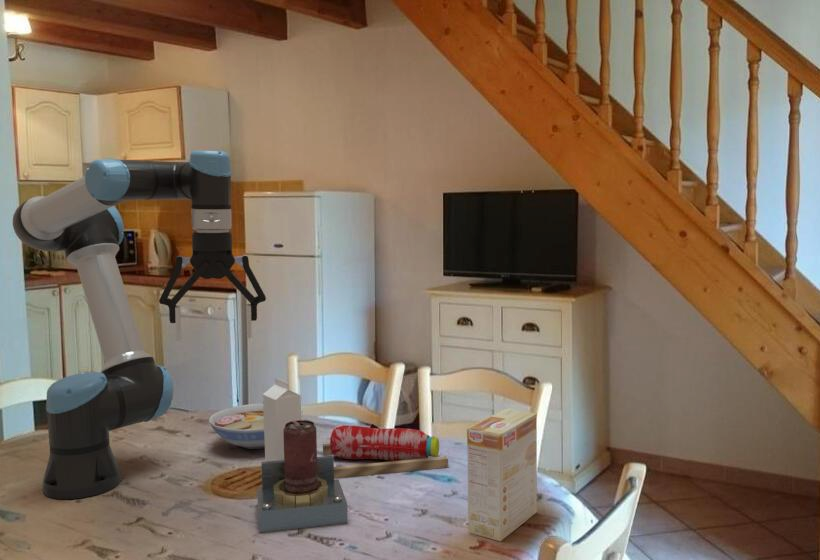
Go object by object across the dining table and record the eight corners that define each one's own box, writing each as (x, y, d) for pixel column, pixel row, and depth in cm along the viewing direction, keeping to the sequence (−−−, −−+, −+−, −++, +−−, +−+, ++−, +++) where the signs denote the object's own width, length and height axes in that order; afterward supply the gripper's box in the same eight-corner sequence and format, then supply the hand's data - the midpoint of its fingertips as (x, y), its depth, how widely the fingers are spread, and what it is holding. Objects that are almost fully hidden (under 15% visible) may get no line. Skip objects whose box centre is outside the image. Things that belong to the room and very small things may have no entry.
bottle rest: (331, 478, 162) (331, 469, 161) (322, 452, 179) (322, 444, 178) (448, 467, 167) (448, 458, 167) (428, 443, 184) (428, 435, 184)
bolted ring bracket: (259, 532, 136) (257, 484, 135) (257, 506, 147) (256, 462, 146) (347, 523, 139) (346, 476, 138) (338, 498, 151) (337, 455, 150)
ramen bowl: (226, 429, 198) (224, 399, 197) (312, 429, 197) (311, 398, 196) (195, 462, 173) (193, 427, 172) (293, 462, 172) (292, 427, 171)
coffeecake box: (505, 504, 147) (505, 407, 145) (538, 512, 143) (538, 412, 140) (465, 532, 134) (465, 426, 132) (501, 542, 130) (501, 433, 128)
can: (302, 486, 147) (300, 416, 145) (324, 494, 142) (322, 423, 141) (277, 496, 142) (275, 424, 140) (300, 504, 138) (298, 430, 136)
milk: (278, 488, 157) (274, 385, 154) (265, 479, 162) (261, 379, 159) (304, 481, 161) (300, 380, 158) (290, 473, 165) (287, 375, 163)
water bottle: (342, 419, 183) (444, 424, 178) (341, 452, 182) (443, 458, 177) (327, 426, 171) (435, 431, 166) (326, 461, 171) (435, 468, 166)
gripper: (142, 232, 140) (146, 344, 142) (278, 231, 145) (279, 339, 148) (146, 230, 147) (150, 336, 149) (275, 229, 153) (276, 332, 155)
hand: (214, 338), depth 149 cm, fingers open, 13 cm apart
